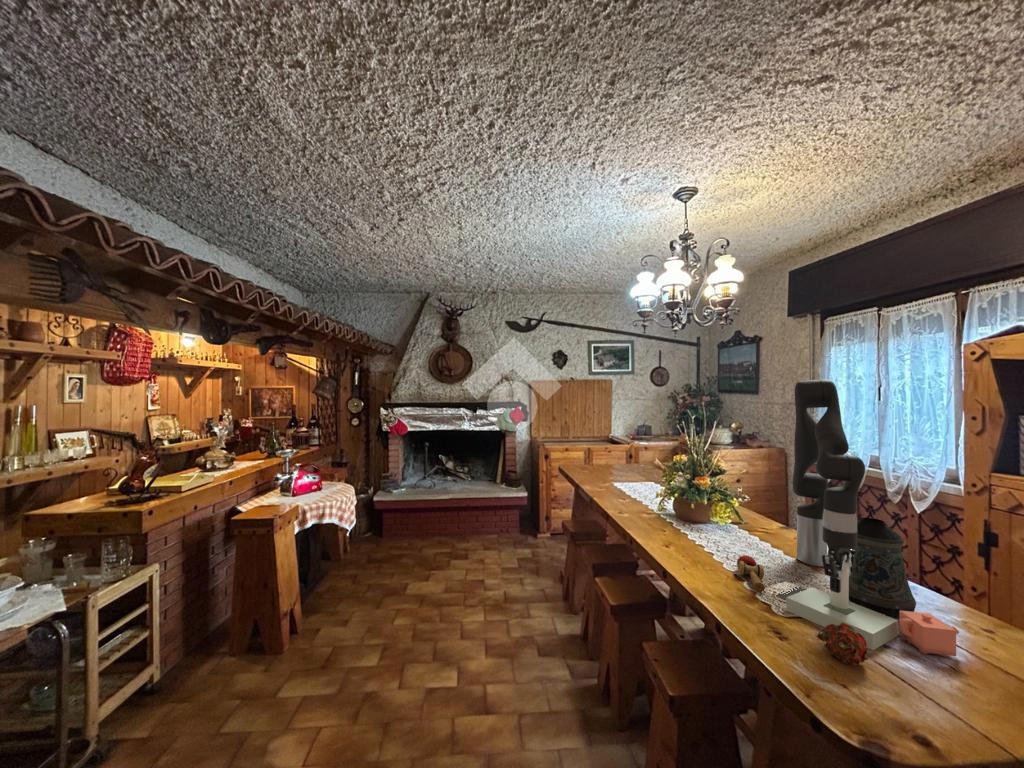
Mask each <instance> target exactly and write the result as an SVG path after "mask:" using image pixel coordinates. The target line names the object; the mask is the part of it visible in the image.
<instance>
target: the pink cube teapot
mask: <svg viewBox="0 0 1024 768" xmlns="http://www.w3.org/2000/svg"><path fill="white" fill-rule="evenodd" d="M898 619H899V620H898V625H899V634H900V635H901V636H902V637H903V638H904V639H906V642H907V644H910V645H913V646H915V647H916V648H917V649H918V652H919V653H921V654H924V655H929V654H935V655H939V656H942V657H945V658H947V657H949V656H951V657H957V635H958V634H959V633H960V631H959V630H958V629H957V628H956V627H955V626H949V625H948V624H946V622H943V620H941V619H939V618H937V617H936V616H934V614H932V613H928V612H917V611H914V612H910V611H901V610H900V618H898Z"/></svg>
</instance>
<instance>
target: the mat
mask: <svg viewBox="0 0 1024 768" xmlns="http://www.w3.org/2000/svg"><path fill="white" fill-rule="evenodd" d="M799 586H800V585H799ZM801 587H802V586H800V587H799V589H798V588H797V587H795V588H796V589H797V590H795V589H794V588H793V591H792V590H791V589H790V590H791V592H790V591H788V592H790V593H788V592H786V593H788V594H786V593H784V594H785V595H784V594H780V593H779V594H778V595H776V596H775V597H777V598H780V599H782V600H784V601H786V597H788V596H791V595H794V594H796V593H799V592H800V591H804V590H807V589H808V588H805V587H804V588H805V589H802V588H801ZM783 592H784V591H783ZM781 593H782V592H781Z"/></svg>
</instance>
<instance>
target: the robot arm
mask: <svg viewBox="0 0 1024 768" xmlns="http://www.w3.org/2000/svg"><path fill="white" fill-rule="evenodd" d="M794 405H795V406H794V408H795V409H794V410H795V427H794V429H795V430H794V466H793V475H792V491H793V493H794V494H795V495H796V496H798V497H803V498H808V499H809V498H811V499H816V500H815V501H813V502H811V503H806V504H800V505H798V506H797V508H796V560H797V559H798V560H800V561H802V562H804V563H803V564H805V563H806V564H805V565H808V564H809V566H811V567H812V566H814V567H820V568H822V567H823V572H824V575H825V576H827V577H829V591H830V590H831V591H834V592H836V593H840V592H841V579H840V578H841V572H842V571H844V565H845V562H848V563H849V576H850V574H851V572H853V571H854V565H855V559H856V551H855V550H852V549H854V548H856V547H857V521H858V518H857V517H858V516H857V497H858V493H859V489H860V487H861V485H862V481H863V479H864V476H865V473H866V465H865V463H864V461H863V460H862V459H861V458H860V457H859V456H857V455H851V454H847V453H848V452H849V449H850V447H849V442H848V440H847V436H846V433H845V430H844V428H843V422H842V415H841V408H840V407H841V406H840V401H839V394H838V389H837V386H836V385H835V383H834V382H833V381H832V380H831V379H813V380H812V379H810V380H809V379H808V380H800V381H797V383H795V388H794ZM814 408H816V409H819V408H820V409H822V408H826V410H825V412H824V414H822V417H821V418H819V420H818V422H816V421H815V420H814V419H813V418H812V416H811V414H810V413H809V411H808V409H814ZM815 464H816V466H815V467H816V469H815V470H816V473H814V472H808V469H810V468H811V467H812V466H813V465H815ZM829 480H831V481H833V480H834V481H843V482H844V483H843V484H842V485H840V486H833V487H829ZM827 544H828V545H829V549H828V546H827ZM798 560H797V561H798ZM800 561H799V562H800ZM802 562H801V563H802ZM835 564H836V565H840V567H837V566H836V565H835ZM836 570H837V571H836Z"/></svg>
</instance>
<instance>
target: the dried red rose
mask: <svg viewBox="0 0 1024 768" xmlns="http://www.w3.org/2000/svg"><path fill="white" fill-rule="evenodd" d="M821 632H824V633H820V632H818V633H817V639H819V640H820V641H823V642H824V643H825V644H824V648H825V649H826V651H827V652H828V653H829V654H831V655H832V656H834V657H836V658H837V659H838V660H839V661H840V662H841V663H845V664H846V665H853V666H857V665H860V663H863V662H865V661H869V653H868V650H867V649H868V648H866V644H867V643H866V640H865V639H864V637H863V636H862V635H861V634H860V633H856V632H855V631H854V629H853V628H852V627H851V626H849V625H847V624H845V623H841V624H840V625H834V624H830V625H827V626H826V628H825V627H824V628H823V629H821Z"/></svg>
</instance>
